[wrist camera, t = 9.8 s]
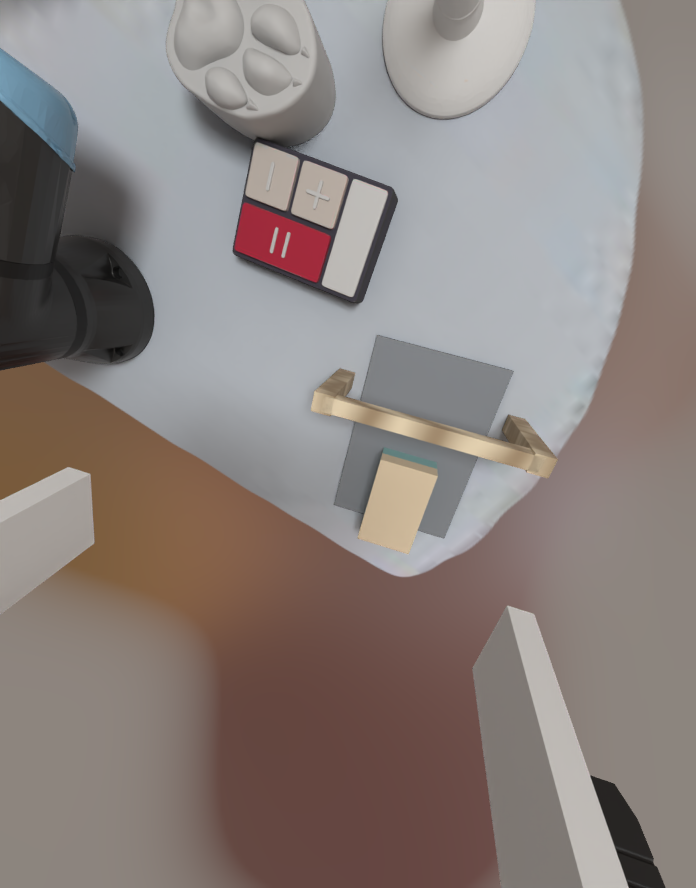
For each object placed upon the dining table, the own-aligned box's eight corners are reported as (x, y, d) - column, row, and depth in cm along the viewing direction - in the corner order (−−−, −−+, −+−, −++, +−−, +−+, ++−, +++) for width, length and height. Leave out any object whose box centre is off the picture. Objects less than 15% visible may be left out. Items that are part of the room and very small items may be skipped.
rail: (336, 383, 47) (310, 410, 36) (339, 368, 46) (314, 391, 35) (518, 434, 45) (548, 478, 34) (525, 419, 44) (557, 459, 34)
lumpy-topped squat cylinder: (231, -18, 35) (175, -109, 27) (355, 47, 35) (335, -25, 27) (202, 113, 39) (146, 67, 31) (312, 171, 39) (284, 140, 31)
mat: (334, 503, 54) (333, 505, 53) (377, 335, 44) (377, 335, 44) (443, 536, 52) (444, 538, 52) (512, 370, 43) (513, 371, 42)
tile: (380, 459, 45) (384, 447, 49) (357, 538, 50) (361, 521, 53) (437, 476, 44) (436, 462, 48) (408, 554, 49) (409, 536, 53)
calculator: (250, 132, 36) (394, 186, 35) (269, 148, 40) (399, 197, 39) (227, 252, 41) (354, 304, 39) (246, 257, 44) (362, 303, 43)
